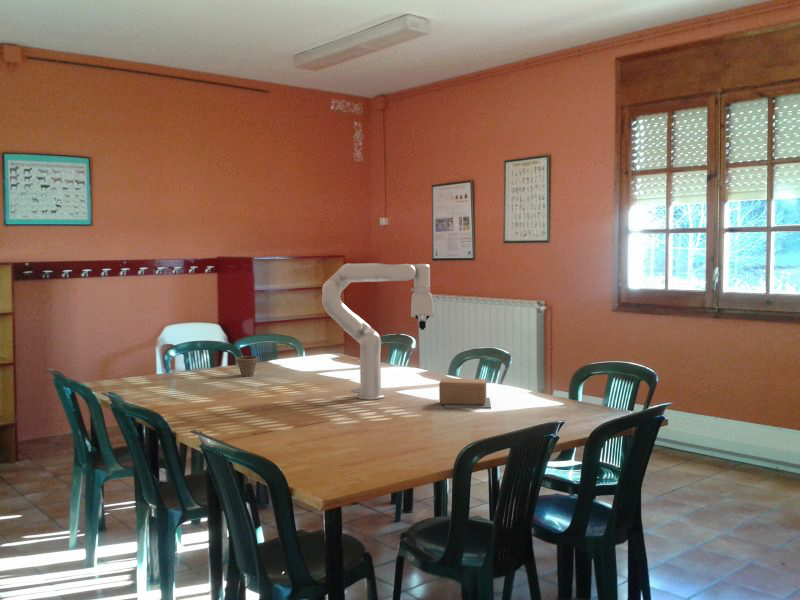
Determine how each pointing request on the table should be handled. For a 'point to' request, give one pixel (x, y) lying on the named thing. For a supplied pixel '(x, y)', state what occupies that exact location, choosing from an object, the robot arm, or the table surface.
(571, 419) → the table surface
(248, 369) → the flower pot
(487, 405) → the mat
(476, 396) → the wooden block
